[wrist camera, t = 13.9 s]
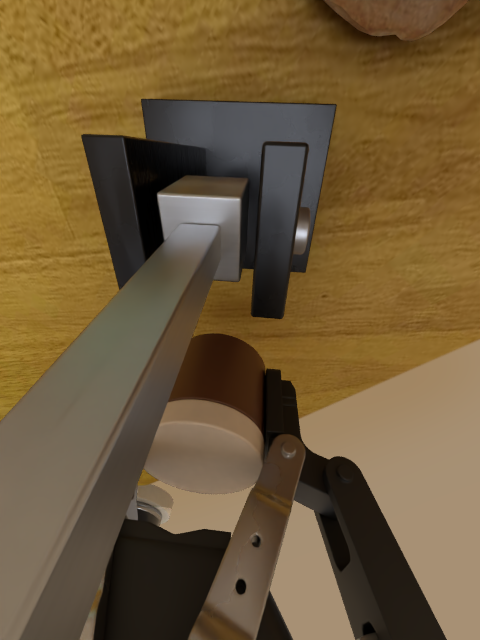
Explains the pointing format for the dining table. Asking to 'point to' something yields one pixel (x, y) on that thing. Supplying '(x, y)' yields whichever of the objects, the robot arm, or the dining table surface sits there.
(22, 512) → the metal lever handle
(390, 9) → the stone cup
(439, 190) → the dining table surface
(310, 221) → the black angular piece
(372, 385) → the dining table surface
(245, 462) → the brown lidded jar
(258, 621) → the robot arm
